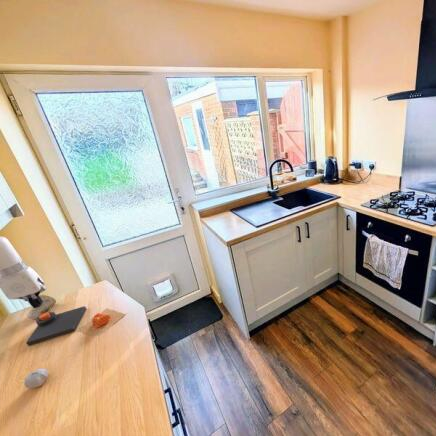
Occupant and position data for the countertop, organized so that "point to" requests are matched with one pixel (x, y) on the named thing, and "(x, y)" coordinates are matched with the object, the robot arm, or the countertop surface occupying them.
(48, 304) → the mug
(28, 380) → the garlic
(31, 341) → the scale
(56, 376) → the countertop surface
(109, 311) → the shallow wooden dish
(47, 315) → the tare button
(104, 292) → the countertop surface
